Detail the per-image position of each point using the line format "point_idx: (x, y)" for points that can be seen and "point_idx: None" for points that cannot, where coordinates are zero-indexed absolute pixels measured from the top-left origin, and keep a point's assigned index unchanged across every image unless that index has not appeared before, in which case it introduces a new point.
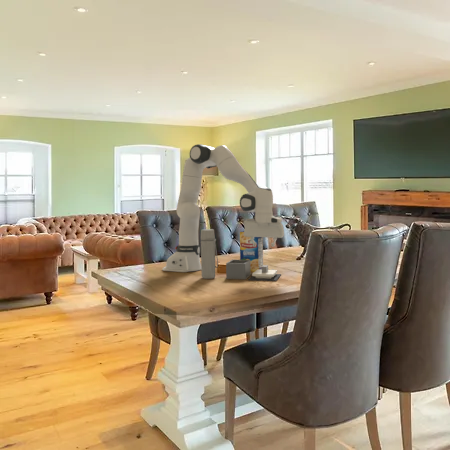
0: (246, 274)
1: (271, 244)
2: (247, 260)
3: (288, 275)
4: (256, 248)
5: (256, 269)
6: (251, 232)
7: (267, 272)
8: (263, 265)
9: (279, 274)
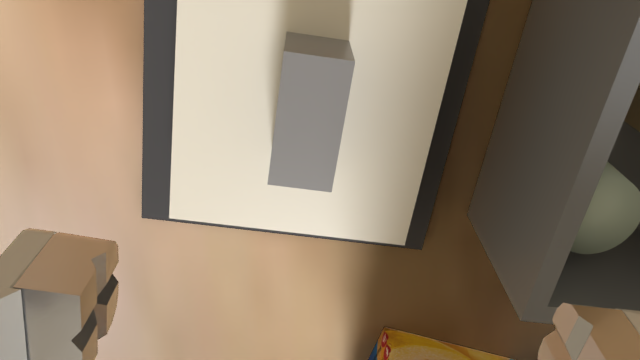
0: (541, 36)
1: (83, 264)
2: (560, 304)
3: (66, 203)
4: None
5: (408, 351)
6: None
7: (273, 55)
8: (331, 170)
9: (156, 195)
